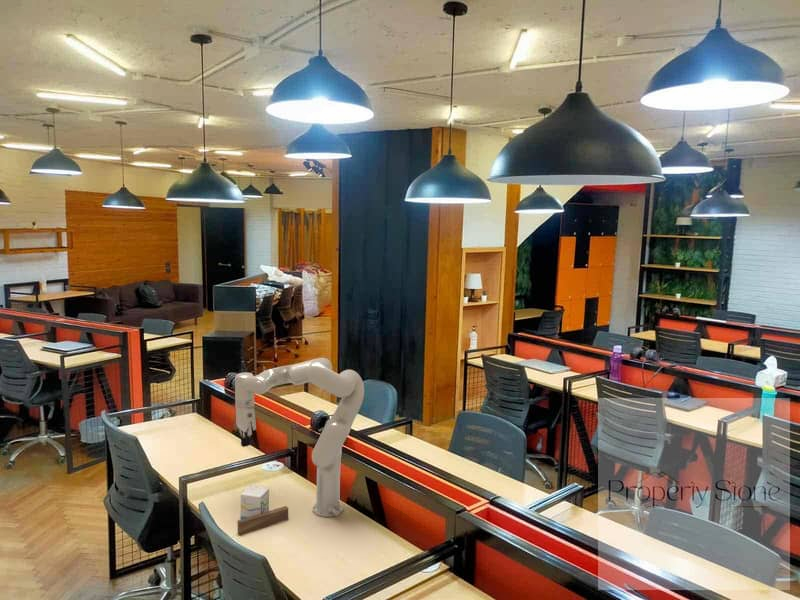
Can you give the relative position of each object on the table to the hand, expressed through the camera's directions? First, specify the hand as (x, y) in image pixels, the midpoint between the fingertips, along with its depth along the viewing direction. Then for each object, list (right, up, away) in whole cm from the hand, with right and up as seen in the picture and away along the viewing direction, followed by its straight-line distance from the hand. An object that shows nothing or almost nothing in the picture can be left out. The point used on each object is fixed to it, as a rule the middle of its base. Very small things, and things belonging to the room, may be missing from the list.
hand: (245, 445), depth 227 cm
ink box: (+6, -27, -9) cm, 29 cm away
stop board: (+11, -27, -15) cm, 33 cm away
